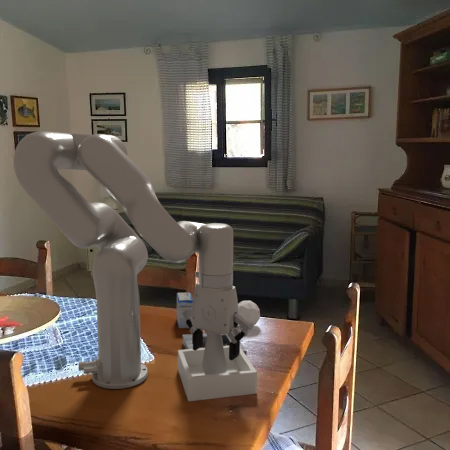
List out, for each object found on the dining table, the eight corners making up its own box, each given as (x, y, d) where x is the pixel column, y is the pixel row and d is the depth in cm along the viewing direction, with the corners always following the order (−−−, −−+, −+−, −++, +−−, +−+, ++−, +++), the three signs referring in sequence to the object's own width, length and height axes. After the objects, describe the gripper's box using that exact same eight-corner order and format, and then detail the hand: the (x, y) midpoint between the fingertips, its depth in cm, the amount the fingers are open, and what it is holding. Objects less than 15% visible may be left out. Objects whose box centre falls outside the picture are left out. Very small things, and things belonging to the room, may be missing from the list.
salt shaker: (232, 378, 110) (231, 323, 108) (210, 385, 107) (210, 329, 105) (218, 368, 115) (217, 316, 112) (197, 375, 112) (196, 321, 109)
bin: (188, 401, 102) (188, 379, 101) (177, 369, 116) (177, 350, 115) (256, 393, 105) (256, 371, 105) (238, 363, 120) (238, 344, 119)
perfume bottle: (270, 315, 144) (243, 331, 136) (254, 325, 150) (227, 340, 141) (257, 292, 145) (229, 306, 137) (241, 302, 151) (214, 316, 143)
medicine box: (176, 319, 150) (176, 292, 149) (190, 318, 151) (190, 291, 150) (178, 328, 143) (178, 300, 141) (193, 327, 144) (193, 299, 142)
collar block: (191, 365, 118) (191, 356, 118) (182, 343, 132) (182, 334, 132) (246, 360, 122) (246, 351, 121) (232, 339, 135) (232, 330, 135)
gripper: (174, 277, 108) (174, 350, 111) (241, 290, 99) (240, 368, 102) (193, 270, 115) (193, 339, 117) (258, 281, 106) (257, 355, 108)
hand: (215, 353), depth 110 cm, fingers open, 9 cm apart
